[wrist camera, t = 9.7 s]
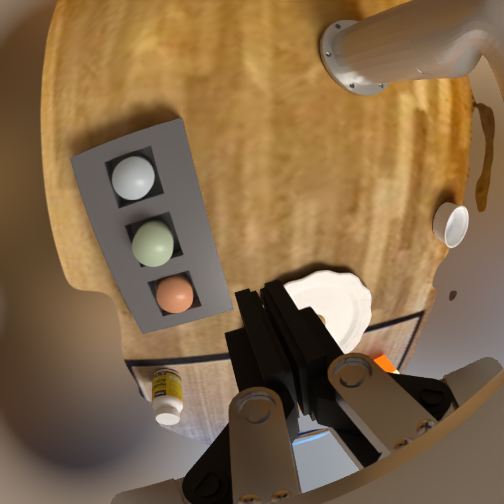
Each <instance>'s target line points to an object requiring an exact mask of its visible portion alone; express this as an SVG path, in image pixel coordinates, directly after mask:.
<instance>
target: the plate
mask: <svg viewBox="0 0 504 504" xmlns="http://www.w3.org/2000/svg"><path fill="white" fill-rule="evenodd" d="M283 286H284V287H285V289H286V290H287V292H288V294H289V295H290V297H291V298H292V300H293V301H294V303H295V305H296V306H297V308H298V309H299V310H300V309H303V308H306V307H309V306H310V307H312V308H313V310H314V311H315V313H316V314H320V315H322V316H323V317H324V318H325V320H326V326H325V327H326V328H327V330H328V331H329V333H330V334H331V335H332V337H333V338H334V340H335V341H336V343H337V344H338V346H339V347H340V348H341V350H342V351H343V353H344V354H348V353H349V352H350V351H351V350H353V349H354V348H355V346H356V345H357V344H358V343H359V341H360V339H361V337H362V335H363V332H364V331H365V329H366V328H367V326H368V325H369V323H370V319H371V316H372V315H371V308H370V306H371V298H372V297H371V294H370V291H369V290H368V289H367V288H366V287H364V286H363V285H362V283H361V282H360V280H359V278H358V277H357V276H355V275H353V274H351V273H337V272H333V271H330V270H320V271H315V272H313V273H311V274H309V275H307V276H305V277H303V278H301V279H297V280H293V281H289V282H287V283H285V284H284V285H283ZM262 305H263V304H262ZM263 307H264V306H263Z"/></svg>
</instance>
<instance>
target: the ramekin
mask: <svg viewBox="0 0 504 504" xmlns="http://www.w3.org/2000/svg"><path fill="white" fill-rule="evenodd" d="M467 227H468V212H467V209H466V208H465V207H464V206H462V205H456V204H453V203H449V202H446V203H443V204H442V205H441V206H440V207H439V208H438V210H437V212H436V214H435V216H434V220H433V232H434V235H435V236H436V237H437V238H438V239H439V240H441V241H442V242H444V243H445V244H446V245H447V246H448V247H450V248H453V247H455V246H457V245H458V244H459V243H460V242H461V240H462V239H463V237H464V235H465V233H466V230H467Z"/></svg>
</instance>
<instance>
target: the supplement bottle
mask: <svg viewBox="0 0 504 504" xmlns="http://www.w3.org/2000/svg"><path fill="white" fill-rule="evenodd" d="M152 407H153V409H154V410H155V411H156V413H155V414H156V420H157V421H158V422H159V423H161V424H165V425H173V424H176V423H178V422H179V413H180V412H181V410H182V408H183V402H182V385H181V377H180V375H179V374H178V373H177V372H175V371H173V370H170V369H161V370H158V371H157V372H155V373H154V375H153V383H152Z"/></svg>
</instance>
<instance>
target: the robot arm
mask: <svg viewBox="0 0 504 504" xmlns="http://www.w3.org/2000/svg"><path fill="white" fill-rule="evenodd" d="M320 54H321V58H322V61H323V64H324V66H325V68H326V70H327V71H328V73H329V74H330V76H331V77H332V78H333V79H334V80H335V81H336V82H337V83H338V84H339V85H340V86H341V87H343V88H344V89H345V90H347V91H349V92H351V93H354V94H357V95H364V96H367V95H374V94H378V93H380V92H382V91H383V90H384V89H385V88H386V87H387V86H388V84H389V83H390V82H399V81H409V80H422V79H442V78H459V77H463V76H465V75H467V74H469V73H470V72H471V71H472V70H473V69H474V68H475V66H476V65H477V63H478V61H479V60H480V58H481V56H482V55H484V56H485V57H486V59H487V61H488V62H489V64H490V67H491V69H492V71H493V73H494V75H495V78H496V80H497V83H498V85H499V88H500V91H501V94H502V97H503V100H504V0H411V1H409V2H406V3H403V4H400V5H398V6H395V7H392V8H390V9H387V10H385V11H382V12H380V13H378V14H375V15H373V16H371V17H368V18H366V19H364V20H362V21H360V22H358V21H355V20H340V21H337V22H335V23H333V24H331V25H330V26H328V27H327V28H326V29H325V31H324V32H323V34H322V36H321V40H320ZM264 285H265V288H262V289H260V292H261V297H262V301H263V305H262V303H261V300H260V298H259V296H258V294H257V292H256V291H252V292H250V289H249V288H248V289H245V290H242V291H238V292H235V296H236V300H237V303H238V307H239V310H240V313H241V317H242V320H243V324H244V327H243V328H240V329H237V330H233V331H230V332H226V333H225V338H226V342H227V346H228V350H229V354H230V358H231V362H232V366H233V370H234V374H235V378H236V382H237V386H238V390H239V393H238V394H237V395H236V396H235V397H234V398H233V399H232V401H231V403H230V405H229V423H228V424H227V425H226V427H225V428H224V429H223V431H222V432H221V433H220V434H219V436H218V437H217V438H216V439H215V441H214V442H213V443H212V444H211V445H210V447H209V448H208V449H207V450H206V452H205V453H204V454H203V455H202V456H201V458H200V459H199V460H198V461H197V462H196V464H195V465H194V466H193V467H192V468H191V469H190V470H189V472H188V473H187V474H186V476H185V477H183V478H180V479H177V480H175V479H173V478H172V479H169V480H166V481H163V482H160V483H156V484H152V485H149V486H145V487H141V488H137V489H134V490H129V491H124V492H121V493H119V494H117V495H116V496H115V497H114V498H113V499H112V502H111V504H504V369H503V367H502V366H501V364H500V363H499V362H498V361H497V360H496V359H494V358H491V357H485V358H482V359H480V360H477V361H476V362H473V363H472V364H469V365H467V366H465V367H463V368H461V369H458V370H456V371H454V372H451V373H449V374H447V375H444V376H443V379H440V380H437V379H432V378H424V377H417V376H410V375H403V374H397V373H391V372H385V371H384V370H383V369H382V368H381V367H380V366H379V365H378V364H377V363H376V362H375V361H374V360H373V359H371V358H370V357H368V356H367V355H364V354H361V353H348V354H344V353H343V351H342V350H341V348H340V347H339V346H338V344H337V343H336V341H335V340H334V338H333V337H332V335H331V334H330V333H329V331H328V330H327V328H326V327H325V325H324V324H323V323H322V321H321V320H320V318H319V317H318V315H317V314H316V313H315V311H314V310H313V308H312V307H310V306H309V307H306V308H303V309H300V310H299V309H298V308H297V306H296V305H295V303H294V301H293V300H292V298H291V297H290V295H289V294H288V292H287V290H286V289H285V287H284V286H283V284H282V283H281V281H280V280H279V279H278V280H275V281H272V282H268V283H265V284H264ZM263 306H264V307H263ZM297 402H298V404H299V407H300V409H301V411H302V413H303V415H304V416H305V415H307V414H309V415H310V417H311V419H312V421H314V420H317V422H318V424H320V425H324V426H327V427H328V429H329V431H330V432H331V433H332V435H333V436H334V437H335V439H336V440H337V441H338V443H339V444H340V445H341V446H342V448H343V449H344V450H345V452H346V453H347V454H348V456H349V457H350V458H351V460H352V461H353V462H354V463H355V465H356V466H357V467H358V468H359V470H360V471H357V472H355V473H353V474H351V475H349V476H346V477H344V478H342V479H340V480H337V481H335V482H332V483H330V484H327V485H325V486H322V487H320V488H317V489H314V490H311V491H308V492H305V493H302V492H301V487H300V482H299V476H298V471H297V466H296V461H295V456H294V451H293V445H292V443H293V441H294V440H295V438H296V436H297V434H298V433H299V431H300V430H299V425H298V418H299V410H298V404H297Z"/></svg>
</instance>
